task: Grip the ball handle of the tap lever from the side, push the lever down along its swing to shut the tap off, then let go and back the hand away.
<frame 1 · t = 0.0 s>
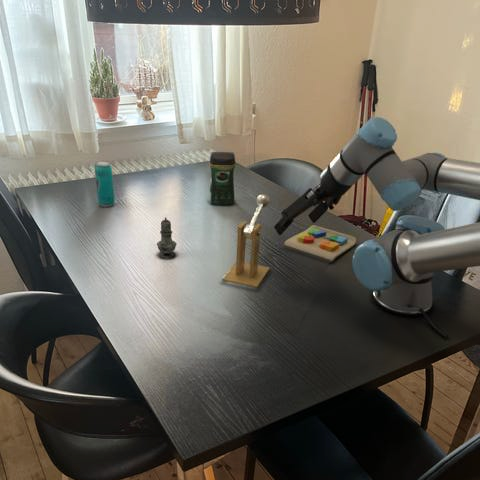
hand: (294, 224, 135), 15 cm above the table, tool tilted 35°, fingers open, 13 cm apart
beverage can: (107, 205, 181), on the table
tap lever: (256, 215, 136), point 17 cm above the table, hinge at 24.0°
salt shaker: (167, 255, 150), on the table
coffee jar: (221, 202, 189), on the table
wooden lever stand: (246, 277, 141), on the table
puzzle board: (320, 246, 161), on the table
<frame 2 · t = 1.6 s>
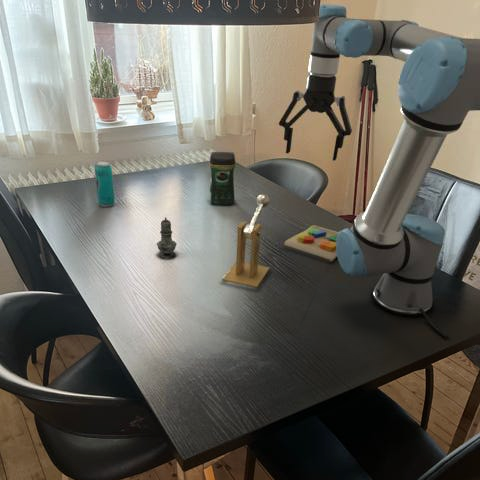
hand: (311, 155, 143), 29 cm above the table, tool pointing down, fingers open, 13 cm apart
nothing on the table moved.
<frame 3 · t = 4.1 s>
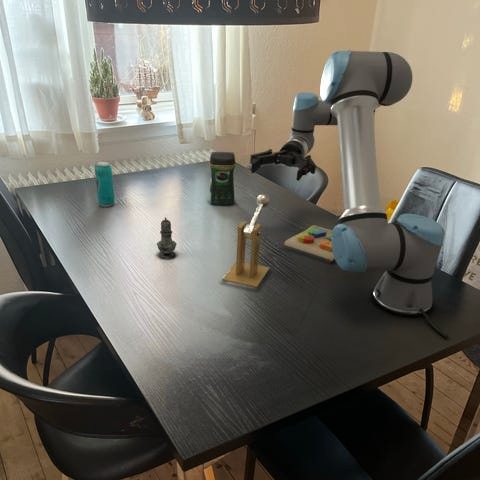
hand: (275, 172, 143), 24 cm above the table, tool horizontal, fingers open, 13 cm apart
nothing on the table moved.
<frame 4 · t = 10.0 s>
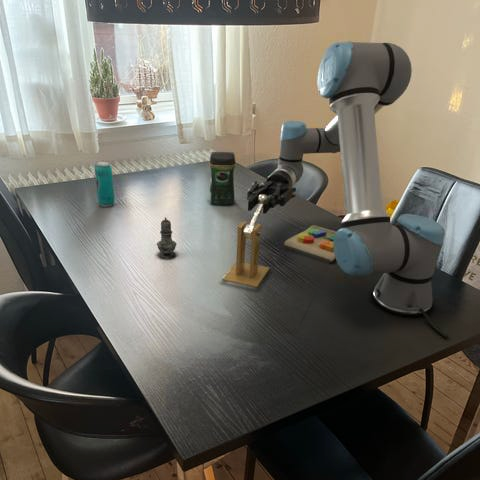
hand: (256, 207, 135), 19 cm above the table, tool horizontal, fingers closed on tap lever, 4 cm apart
tap lever: (256, 215, 136), point 17 cm above the table, hinge at 24.0°, touching gripper
everything else where it was.
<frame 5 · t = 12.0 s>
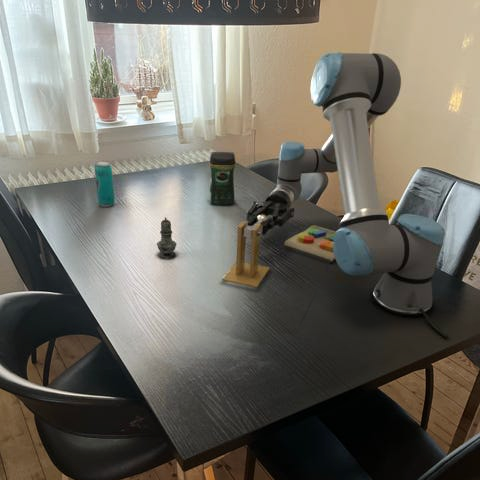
hand: (256, 228, 139), 12 cm above the table, tool horizontal, fingers closed on tap lever, 4 cm apart
tap lever: (256, 226, 138), point 13 cm above the table, hinge at -6.9°, touching gripper
everything else where it was.
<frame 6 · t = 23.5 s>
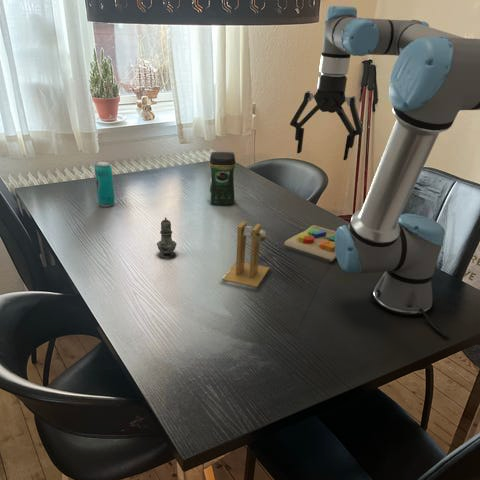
hand: (322, 155, 144), 29 cm above the table, tool pointing down, fingers open, 13 cm apart
tap lever: (255, 233, 139), point 11 cm above the table, hinge at -27.0°
everything else where it was.
at the end: tap lever at -27° (first picture: +24°); the gripper is holding nothing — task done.
